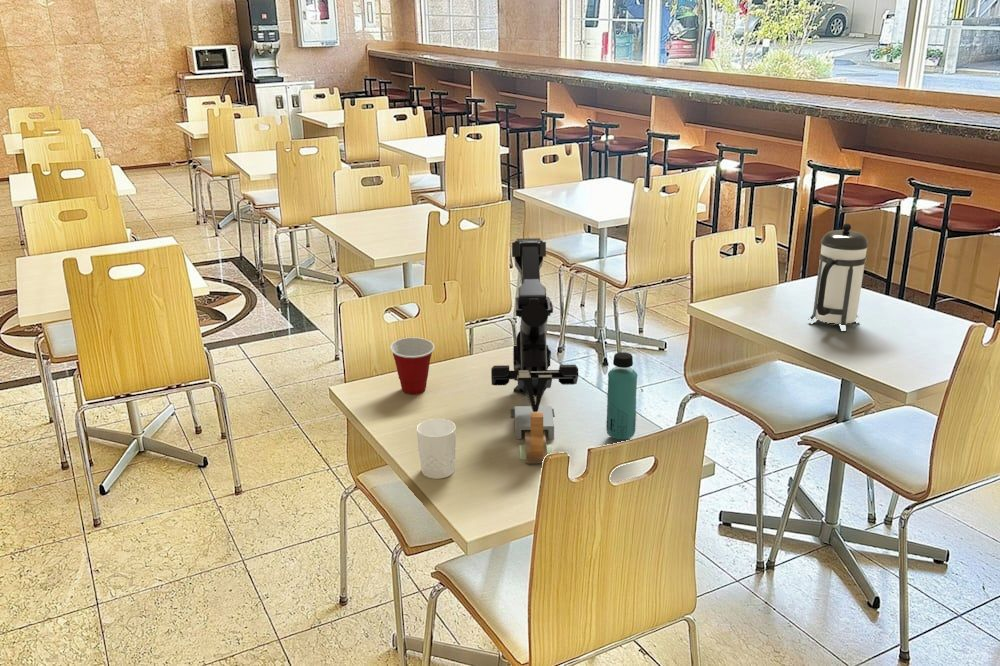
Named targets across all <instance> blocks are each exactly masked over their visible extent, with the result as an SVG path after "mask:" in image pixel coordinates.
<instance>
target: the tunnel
mask: <svg viewBox="0 0 1000 666" xmlns="http://www.w3.org/2000/svg"><path fill="white" fill-rule="evenodd" d="M514 409H515V418H514V428H515V429H514V430H515V431H514V432H515V440H522V431H524V430H531V412H533V410H532V408H531V405H525V406H524V405H522V406H521V405H520V406H519V405H518V406H517V405H516V406H514ZM552 409H553V408H552V405H539V409H538V412H543V430H545V431H546V430H547V437H548V440H549V439H550V440H554V439H555V420H554V417H553V413H552Z"/></svg>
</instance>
